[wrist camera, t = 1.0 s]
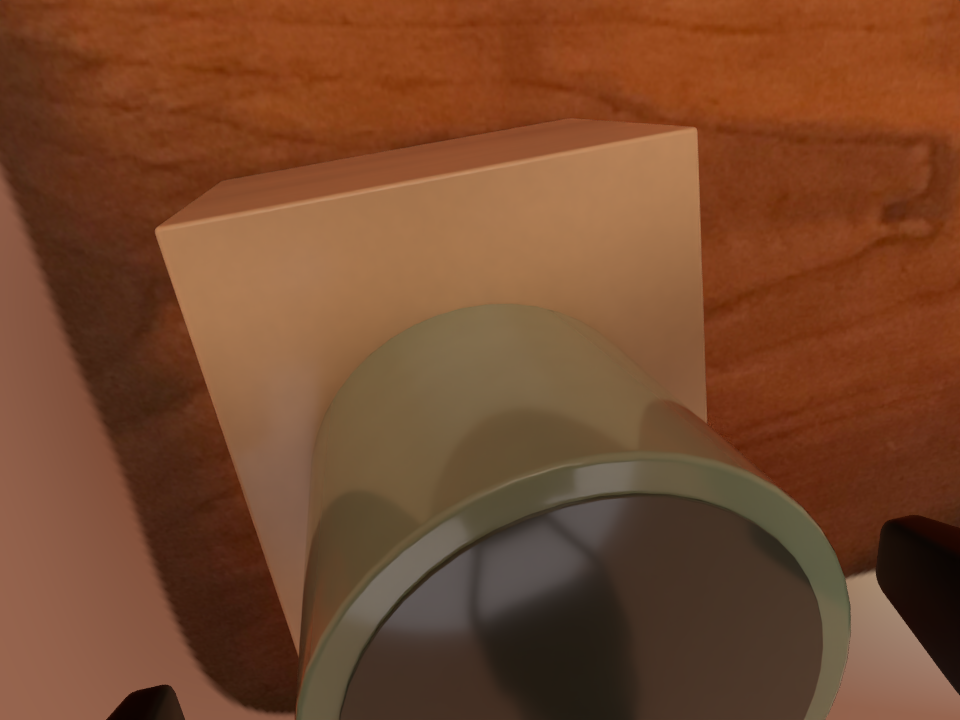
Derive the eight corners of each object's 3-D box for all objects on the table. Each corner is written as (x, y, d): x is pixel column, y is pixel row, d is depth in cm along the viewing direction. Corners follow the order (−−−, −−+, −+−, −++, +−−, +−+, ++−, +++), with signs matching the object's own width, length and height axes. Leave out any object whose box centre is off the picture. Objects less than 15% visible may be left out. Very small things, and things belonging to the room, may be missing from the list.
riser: (608, 484, 20) (715, 633, 14) (329, 554, 19) (327, 745, 13) (571, 117, 16) (699, 126, 10) (219, 181, 15) (151, 227, 9)
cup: (708, 495, 13) (920, 718, 8) (440, 669, 13) (500, 985, 8) (554, 226, 10) (732, 327, 6) (230, 444, 11) (148, 712, 6)
